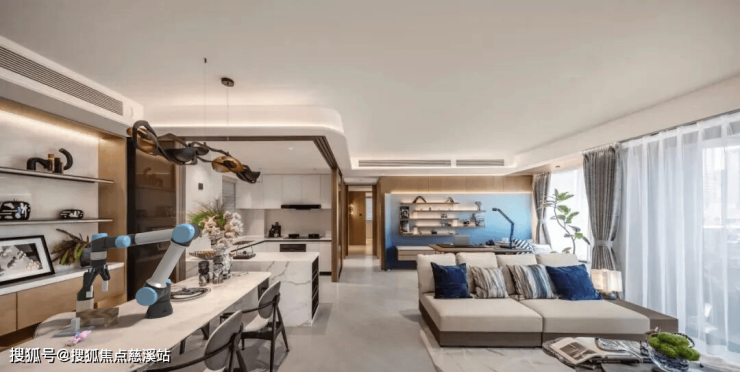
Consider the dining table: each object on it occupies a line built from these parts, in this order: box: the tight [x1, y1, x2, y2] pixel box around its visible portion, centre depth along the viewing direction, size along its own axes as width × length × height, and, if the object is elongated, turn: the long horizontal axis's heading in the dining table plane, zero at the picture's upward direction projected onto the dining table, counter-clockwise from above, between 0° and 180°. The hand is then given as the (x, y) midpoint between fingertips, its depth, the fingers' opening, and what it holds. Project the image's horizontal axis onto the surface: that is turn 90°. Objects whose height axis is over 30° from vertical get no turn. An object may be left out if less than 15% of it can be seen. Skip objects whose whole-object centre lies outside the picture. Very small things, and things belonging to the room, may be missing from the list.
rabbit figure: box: [64, 330, 92, 347], centre depth 164 cm, size 6×6×15 cm
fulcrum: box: [52, 317, 97, 338], centre depth 177 cm, size 14×11×8 cm
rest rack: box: [80, 315, 119, 328], centre depth 188 cm, size 18×7×5 cm, turn 100°
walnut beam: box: [75, 306, 120, 320], centre depth 188 cm, size 20×5×4 cm, turn 100°
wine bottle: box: [75, 271, 95, 313], centre depth 202 cm, size 8×8×30 cm
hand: (97, 294), depth 189 cm, fingers open, 13 cm apart
